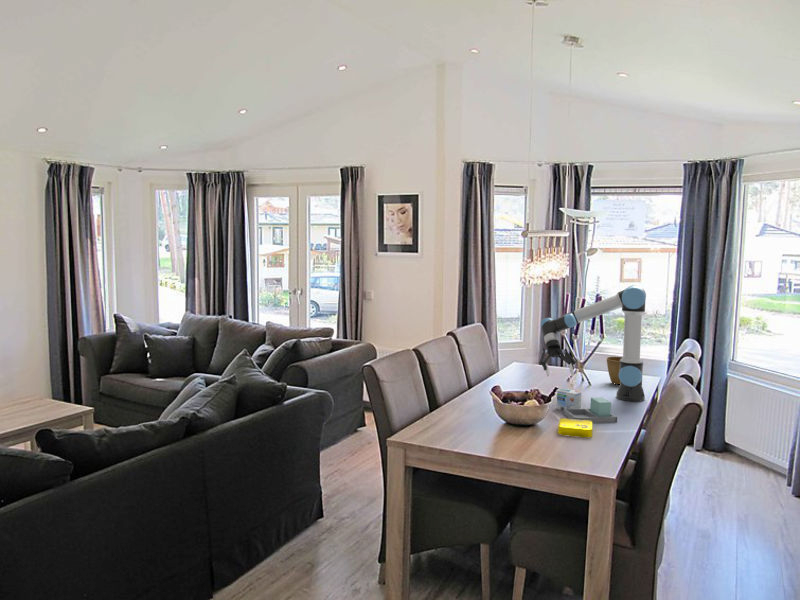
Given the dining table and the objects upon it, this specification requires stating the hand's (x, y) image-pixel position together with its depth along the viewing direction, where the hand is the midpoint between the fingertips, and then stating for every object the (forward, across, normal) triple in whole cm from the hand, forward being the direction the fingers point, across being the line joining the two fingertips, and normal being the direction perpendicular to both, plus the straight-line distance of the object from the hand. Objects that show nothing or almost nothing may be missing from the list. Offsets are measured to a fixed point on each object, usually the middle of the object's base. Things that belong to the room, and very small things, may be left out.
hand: (560, 375), depth 327 cm
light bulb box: (+20, -1, -4) cm, 20 cm away
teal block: (+30, -11, +8) cm, 33 cm away
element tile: (+45, +10, +21) cm, 50 cm away
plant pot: (-22, -56, -45) cm, 75 cm away
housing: (+31, -5, +8) cm, 32 cm away
